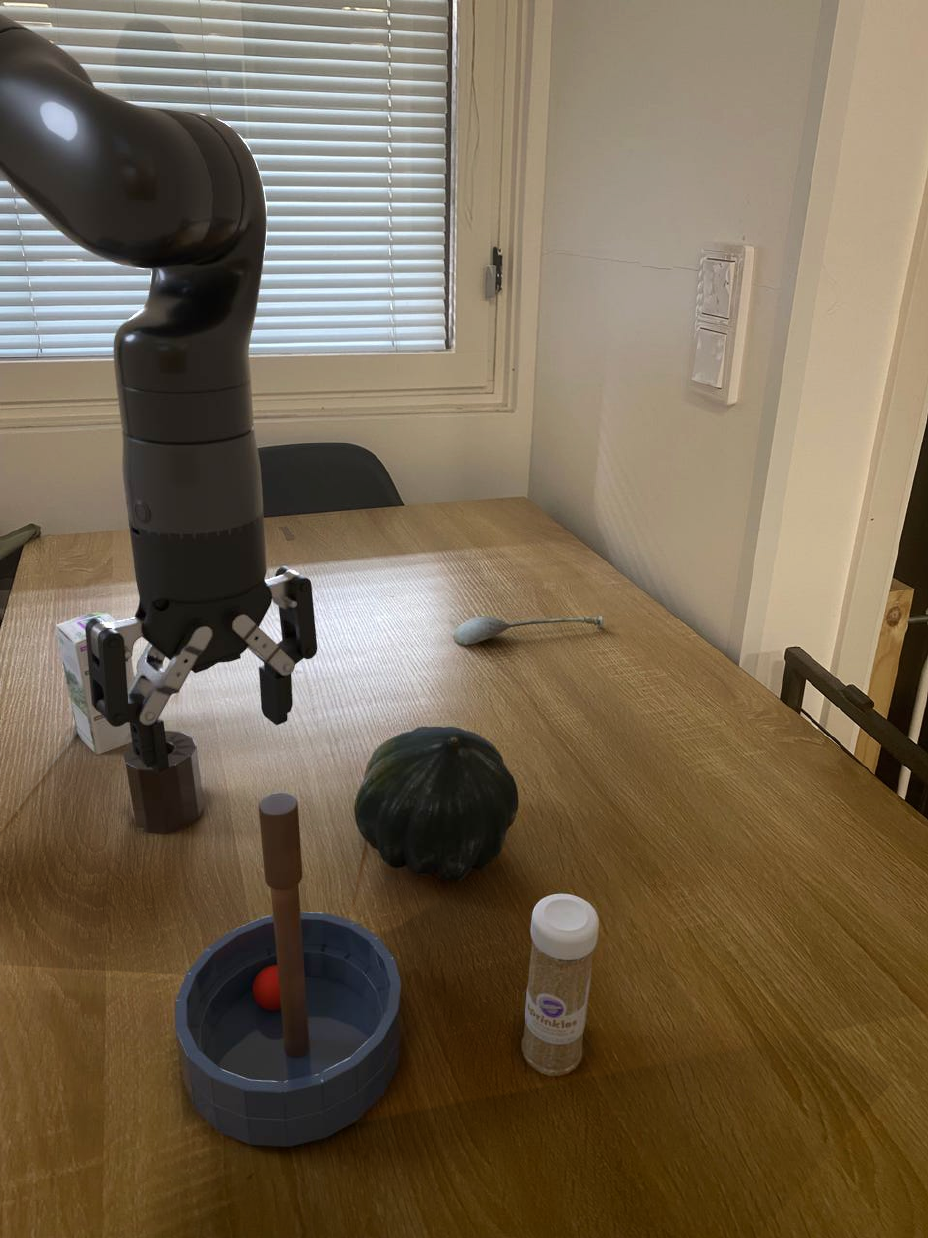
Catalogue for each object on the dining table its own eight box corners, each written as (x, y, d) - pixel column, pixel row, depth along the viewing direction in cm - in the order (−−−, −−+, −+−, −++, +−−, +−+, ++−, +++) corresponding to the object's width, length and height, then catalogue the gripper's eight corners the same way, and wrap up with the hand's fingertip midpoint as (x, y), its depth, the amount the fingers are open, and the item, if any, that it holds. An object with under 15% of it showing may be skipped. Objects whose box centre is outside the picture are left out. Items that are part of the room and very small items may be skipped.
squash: (379, 737, 94) (361, 693, 81) (523, 755, 93) (529, 713, 80) (356, 877, 89) (332, 856, 75) (507, 897, 88) (511, 879, 74)
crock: (124, 836, 88) (112, 768, 84) (148, 794, 94) (138, 729, 90) (191, 839, 88) (182, 771, 84) (211, 797, 94) (204, 732, 90)
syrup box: (147, 740, 103) (130, 625, 96) (95, 760, 99) (74, 642, 93) (125, 720, 106) (107, 607, 100) (74, 738, 103) (52, 623, 96)
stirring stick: (276, 1060, 65) (254, 814, 56) (284, 1032, 68) (264, 791, 58) (309, 1063, 65) (292, 816, 56) (316, 1034, 67) (301, 793, 58)
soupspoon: (448, 633, 130) (458, 656, 125) (448, 612, 129) (458, 635, 123) (593, 616, 135) (609, 638, 129) (595, 596, 133) (611, 617, 127)
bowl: (152, 1146, 60) (141, 1084, 57) (219, 963, 74) (212, 907, 72) (388, 1159, 60) (387, 1097, 57) (410, 972, 74) (410, 916, 71)
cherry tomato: (248, 995, 70) (247, 962, 69) (288, 983, 72) (288, 951, 71) (259, 1025, 68) (258, 992, 67) (300, 1012, 69) (301, 980, 68)
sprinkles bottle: (520, 1076, 65) (531, 936, 60) (522, 1023, 70) (532, 888, 64) (584, 1082, 65) (601, 942, 59) (582, 1029, 69) (598, 893, 63)
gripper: (269, 468, 59) (280, 684, 66) (45, 511, 50) (86, 755, 57) (336, 499, 54) (341, 728, 61) (101, 553, 45) (138, 813, 53)
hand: (217, 741), depth 59 cm, fingers open, 8 cm apart
